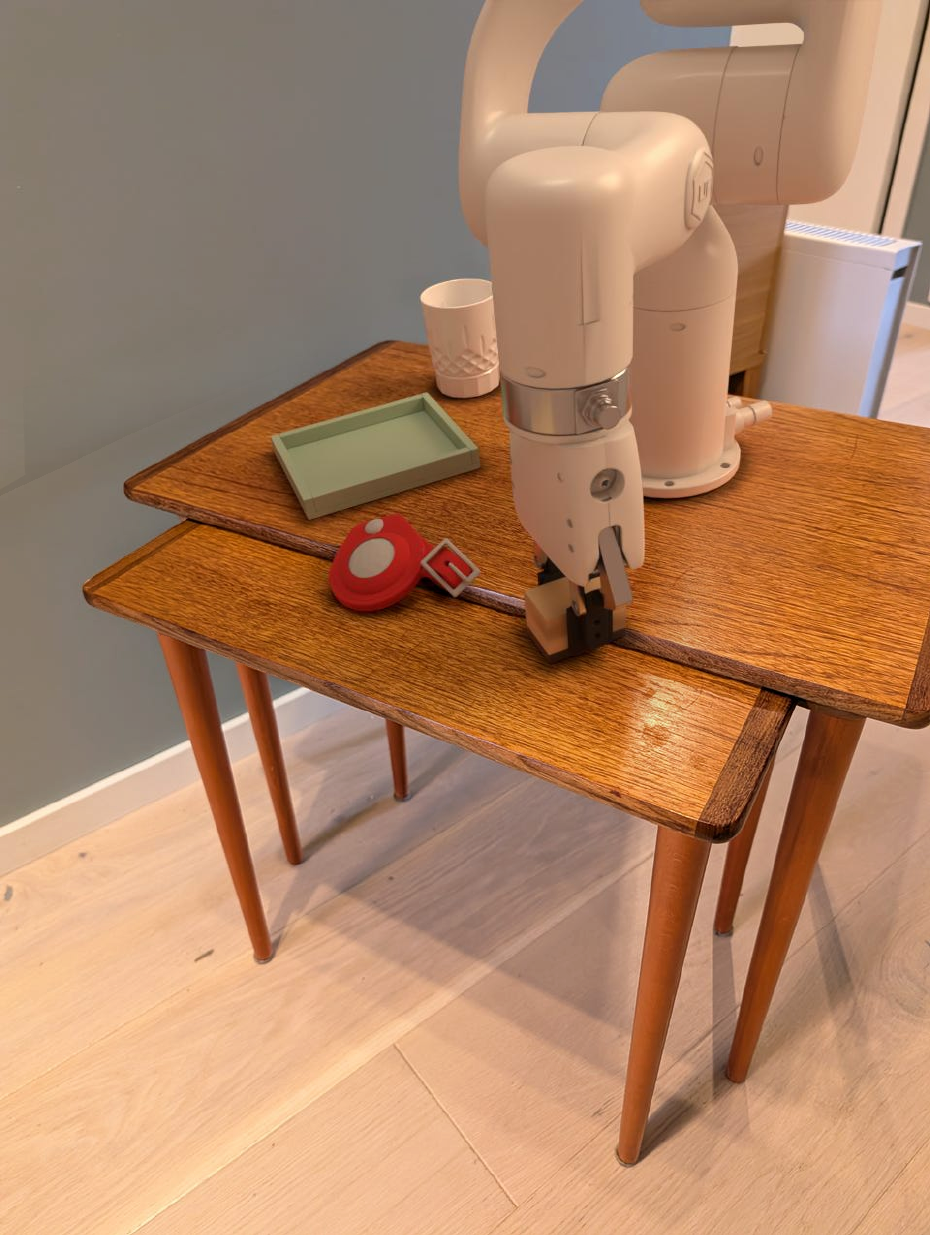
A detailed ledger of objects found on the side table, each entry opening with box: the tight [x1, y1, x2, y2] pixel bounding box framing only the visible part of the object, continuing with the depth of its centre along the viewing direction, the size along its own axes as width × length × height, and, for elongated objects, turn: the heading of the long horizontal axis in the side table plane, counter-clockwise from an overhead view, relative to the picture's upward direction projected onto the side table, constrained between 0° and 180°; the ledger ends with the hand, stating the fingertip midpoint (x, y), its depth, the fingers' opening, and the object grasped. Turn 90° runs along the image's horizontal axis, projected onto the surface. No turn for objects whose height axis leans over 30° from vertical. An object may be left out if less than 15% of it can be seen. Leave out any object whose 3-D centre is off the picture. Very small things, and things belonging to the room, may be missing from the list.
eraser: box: [523, 576, 627, 664], centre depth 63 cm, size 6×4×4 cm, turn 112°
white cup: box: [419, 278, 500, 399], centre depth 94 cm, size 8×8×10 cm
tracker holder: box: [328, 512, 482, 612], centre depth 70 cm, size 12×4×10 cm
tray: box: [270, 391, 481, 521], centre depth 86 cm, size 17×14×2 cm
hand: (575, 626), depth 63 cm, fingers closed on eraser, 3 cm apart
